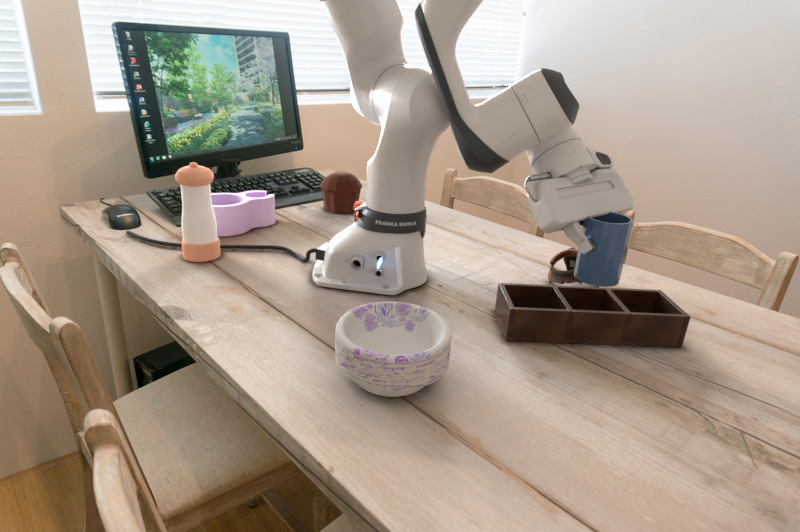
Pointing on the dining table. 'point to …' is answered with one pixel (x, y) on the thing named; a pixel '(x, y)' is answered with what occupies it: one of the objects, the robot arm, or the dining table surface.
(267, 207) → the purple desk organizer
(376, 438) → the dining table surface
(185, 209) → the pepper shaker
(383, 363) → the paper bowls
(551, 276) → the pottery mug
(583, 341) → the cup rack
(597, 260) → the cup
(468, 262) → the dining table surface
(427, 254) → the dining table surface
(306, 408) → the dining table surface
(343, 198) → the muffin
